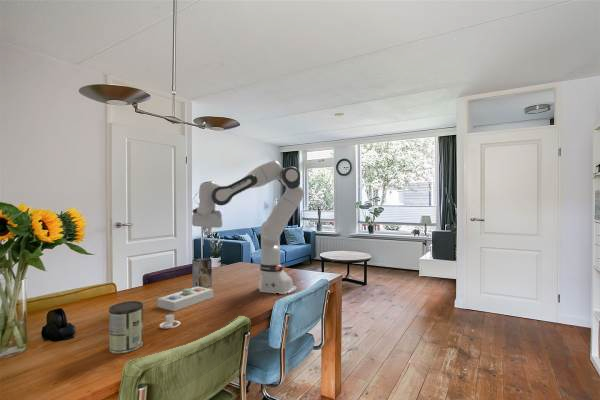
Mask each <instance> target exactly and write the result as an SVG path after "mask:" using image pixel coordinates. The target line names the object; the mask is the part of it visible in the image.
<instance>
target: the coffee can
mask: <svg viewBox="0 0 600 400" xmlns="http://www.w3.org/2000/svg"><path fill="white" fill-rule="evenodd" d="M143 306H144V303H143V302H142V301H138V300H137V301H134V300H130V301H123V302H119V303H116V304H113V305H111V306H109V307H108V313H109V315H108V316H109V319H108V320H109V322H108V324H109V325H108V326H109V328H108V329H109V331H108V332H109V335H108V336H109V339H108V340H109V348H108V349H109V352H110V353H112V354H125V353H130V352H133V351H135V350H138V349H139V348H141V347H142V346H143V345H144V344H143V343H144V342H143V340H144V339H143V337H144V336H143V333H144V332H143V331H144V329H143V319H144V318H143V317H144V316H143V309H144V308H143Z"/></svg>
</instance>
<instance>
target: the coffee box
mask: <svg viewBox="0 0 600 400" xmlns="http://www.w3.org/2000/svg"><path fill="white" fill-rule="evenodd" d="M212 261H213V260H212V258H207V257H203V258H198V259H192V261H191V263H192V266H191V267H192V269H191V270H192V274H191V275H192V288H193V287H197V286H198V287H203V288H209V287H211V286H213V282H212V281H213V277H212V269H213V267H212Z"/></svg>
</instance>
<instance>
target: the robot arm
mask: <svg viewBox="0 0 600 400" xmlns="http://www.w3.org/2000/svg"><path fill="white" fill-rule="evenodd" d="M275 180H277V181H279V183H280V184H281V185H282V186H284V187H285V191H284V192H283V194H282V196H281V197H280V199H279V200H278V202H277V203H276V204H275V206H274V208H273V209H272V211H271V213H269V214H270V215H269V216H268V217H267V219H266V220H265V221H264V222H262V224H261V225H260V266H259V269H260V277H259V283H258V287H257V289H258V290H259V292H260V293H271V294H276V293H279V295H288V294H291V293H294V292H296V291H297V290H298V289H297V288H298V287H297V285H296V286H295V285H294V284H293V283H294V282H293V278H292V277H291V276H290V275H289V274H287V273H286V272H285V271H284V270H283V269H284V267H285V265H284V264H283V265H282V263H281V244H280V240H281V239H280V237H281V234H282V233H283V232H284V230H285V229H286V226H287V225H288V223H289V221H290V220H291V217H292V216H293V214H294V213H295V211H297V208H298V207H299V205H300V204H301V202H302V200H303V198H304V195H305V190H304V189H303V187H301V186H300V184H301V173H300V171H299V169H298V168H297V167H295V166H287V167H282V165H281V163H280V162H278V161H277V160H271V161H268V162H265V163H263V164H261V165H259V166H257V167H255V168H254V169H252V170H250V171H249V172H248V173H247V174H246V175H245V176H243V178H241V179H239V180H237V181H235V182H233V183H231V184H228V185H225V186H222V185H220V184H217V183H216V182H215V181H214V180H213V181H211V180H210V181H203V182H202V183H200V185H199V188H198V189H199V192H198V200H199V202H198V207H195V208H194V209H192V211H191V212H192V216H191V224H192V226H193V227H201V229H202V231H203V235H204V236H210V235H211V231H212V229H213V228H217V229H218V228H219V229H220V228H222V226H223V218H222V212H220V210H216V205H217V206H225V205H228V204H229V203H230V202H231V201H232V200H233V199H232V198H233V197H235V196H237V195H239V194H241V193H242V192H245V191H246V190H249V189H254V188H260V187H262V186H265V185H267V184H270V183H271V182H273V181H275ZM287 293H288V294H287Z"/></svg>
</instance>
